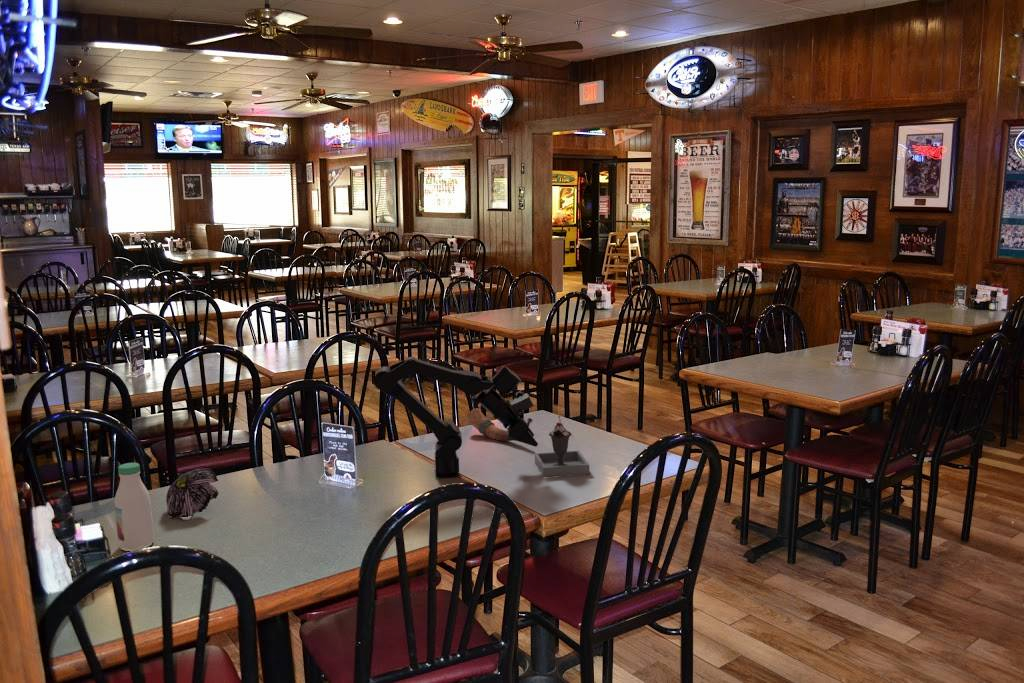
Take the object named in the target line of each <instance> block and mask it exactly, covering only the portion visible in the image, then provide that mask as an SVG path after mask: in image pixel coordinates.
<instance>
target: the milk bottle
mask: <svg viewBox="0 0 1024 683" xmlns="http://www.w3.org/2000/svg"><path fill="white" fill-rule="evenodd" d="M117 470H118V471H117V472H118V477H119V478H120V479H119V483H118V487H117V490H116V492H115V496H114V510H115V511H114V512H115V522H116V532H117V540H118V547H121V548H126V549H127V548H128V549H134V548H138V547H141V546H143V545H147V544H149V543H151V542H153V541H154V542H155V531H154V530H155V529H154V522H153V514H152V512H153V511H152V505H151V504H152V503H151V496H150V493H149V491H148V489H147V487H146V486H145V484H144V483H143V481H142V479H141V476H140V474H141V466H140V464H139V462H127V463H122V464H120V465H119V466H118V468H117ZM142 548H144V547H142ZM134 550H136V549H134Z"/></svg>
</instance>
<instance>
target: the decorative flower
mask: <svg viewBox="0 0 1024 683" xmlns="http://www.w3.org/2000/svg"><path fill="white" fill-rule="evenodd" d="M217 477H218V474H216V472H214V471H213V470H212V468H207V467H200V468H195V469H193V470H189V471H186V472H184V473H182V474H181V475H180V476H178V477H177V478H176V480H175V481H173V482H172V484H171V485H170V486H169V488H168V489H167V492H166V499H165V500H166V506H167V508H166V509H167V511H166V513H167V516H168V515H169V516H172V517H173V518H177V517H178V518H179V517H188V516H192V517H193V516H194V510H195V511H196V512H198V513H200V512H203V511H204V510H207V507H209V503H210V501H211V500H213V499H215V500H216V499H217V497H218V496H219V491H218V489H217V488H216V487H215V486H213V484H211V483H216V482H218V481H219V479H218V478H217ZM172 517H171V518H172Z"/></svg>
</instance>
